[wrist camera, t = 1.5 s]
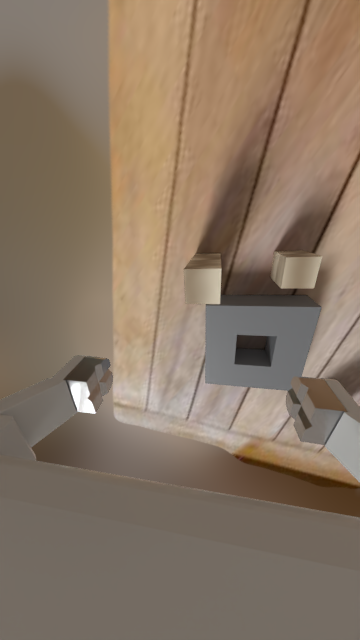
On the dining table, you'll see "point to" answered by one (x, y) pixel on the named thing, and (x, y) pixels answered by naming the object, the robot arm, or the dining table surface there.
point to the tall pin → (203, 279)
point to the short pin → (295, 269)
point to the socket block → (260, 320)
